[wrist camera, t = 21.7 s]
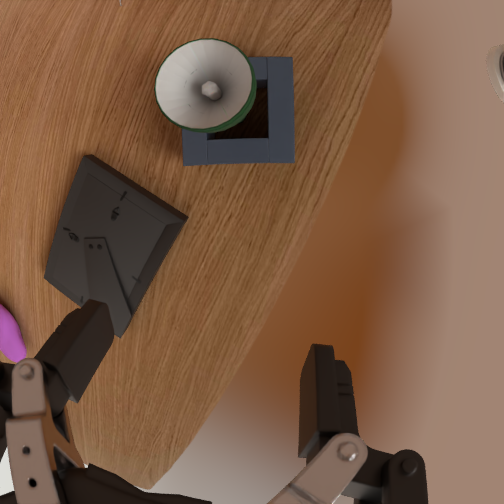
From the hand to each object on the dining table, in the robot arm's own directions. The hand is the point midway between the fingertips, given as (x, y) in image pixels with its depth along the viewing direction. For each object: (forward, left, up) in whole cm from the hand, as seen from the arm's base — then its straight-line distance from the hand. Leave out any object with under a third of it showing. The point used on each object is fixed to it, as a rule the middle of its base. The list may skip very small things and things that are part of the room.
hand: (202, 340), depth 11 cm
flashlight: (+1, -10, -26) cm, 28 cm away
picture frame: (+19, +5, -26) cm, 33 cm away
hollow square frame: (0, -11, -25) cm, 27 cm away
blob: (+49, +22, -26) cm, 60 cm away
